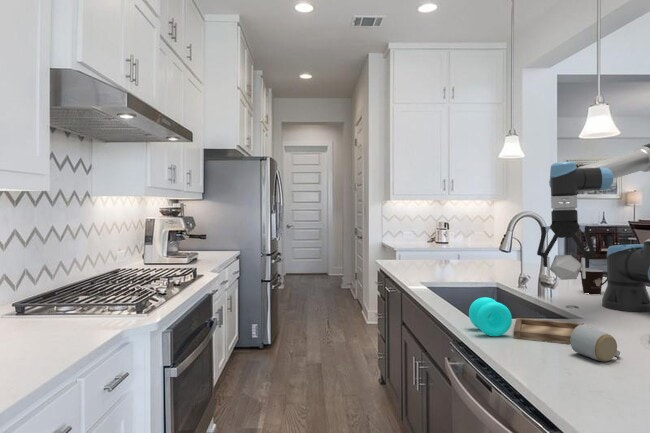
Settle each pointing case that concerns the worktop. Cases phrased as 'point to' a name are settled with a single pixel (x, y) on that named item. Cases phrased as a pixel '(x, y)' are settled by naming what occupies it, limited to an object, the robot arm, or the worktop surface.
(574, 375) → the worktop surface
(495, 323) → the donuts
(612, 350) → the ceramic mug
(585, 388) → the worktop surface
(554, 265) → the die
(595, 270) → the coffee mug
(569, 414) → the worktop surface
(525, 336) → the tray
